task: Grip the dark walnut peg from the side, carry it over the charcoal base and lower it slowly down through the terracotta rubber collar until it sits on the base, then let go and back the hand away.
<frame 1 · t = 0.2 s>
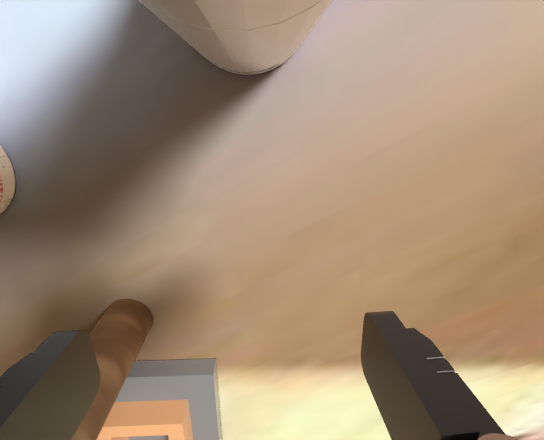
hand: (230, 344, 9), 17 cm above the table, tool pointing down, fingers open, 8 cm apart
walnut peg: (129, 317, 29), on the table
collar base: (158, 411, 34), on the table
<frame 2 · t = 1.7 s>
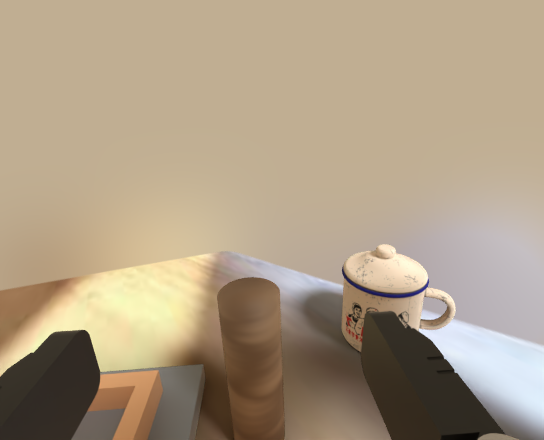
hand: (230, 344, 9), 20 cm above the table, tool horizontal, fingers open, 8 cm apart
walnut peg: (259, 431, 26), on the table
teacup with lid: (390, 338, 36), on the table
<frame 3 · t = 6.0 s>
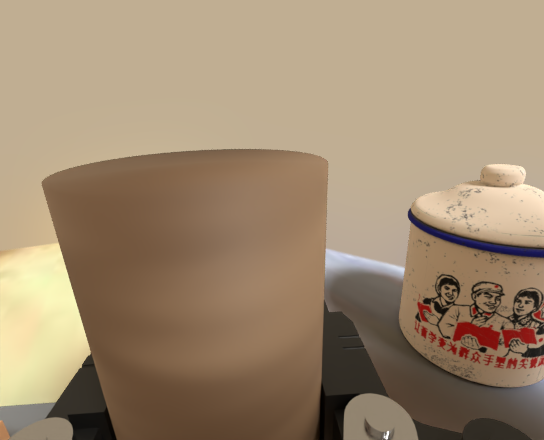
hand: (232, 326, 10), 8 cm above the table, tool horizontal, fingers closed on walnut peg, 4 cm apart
teacup with lid: (490, 344, 20), on the table
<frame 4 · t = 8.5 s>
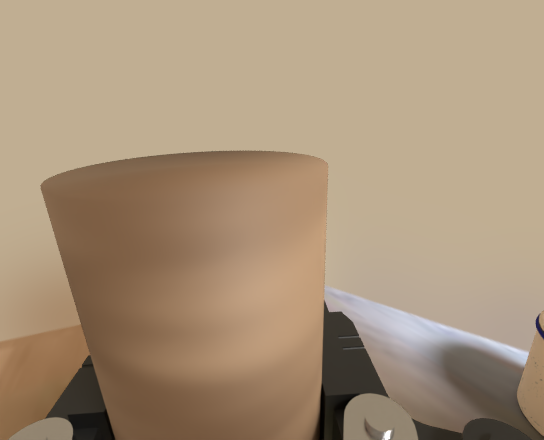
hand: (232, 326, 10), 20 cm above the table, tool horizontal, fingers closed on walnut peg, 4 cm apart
when the fingers open (10 cm above the table, at t = 11.0 s): walnut peg stays where it is, resting on collar base.
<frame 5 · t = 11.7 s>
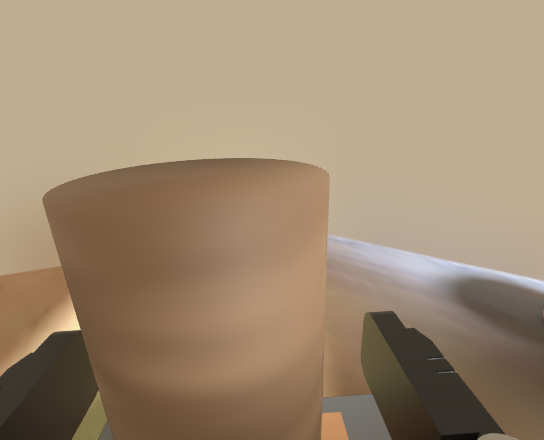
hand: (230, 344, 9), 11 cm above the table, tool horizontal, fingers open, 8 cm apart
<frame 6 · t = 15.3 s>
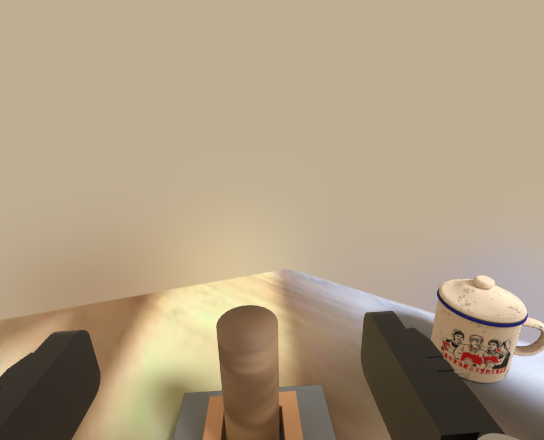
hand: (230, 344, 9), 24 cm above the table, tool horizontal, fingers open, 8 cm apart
teacup with lid: (478, 361, 39), on the table
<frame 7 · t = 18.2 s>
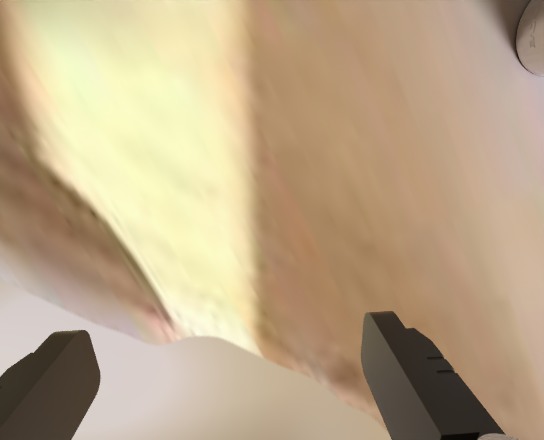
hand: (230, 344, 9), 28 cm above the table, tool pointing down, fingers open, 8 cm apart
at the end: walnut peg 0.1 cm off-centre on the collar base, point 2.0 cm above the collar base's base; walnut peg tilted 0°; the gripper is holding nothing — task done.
